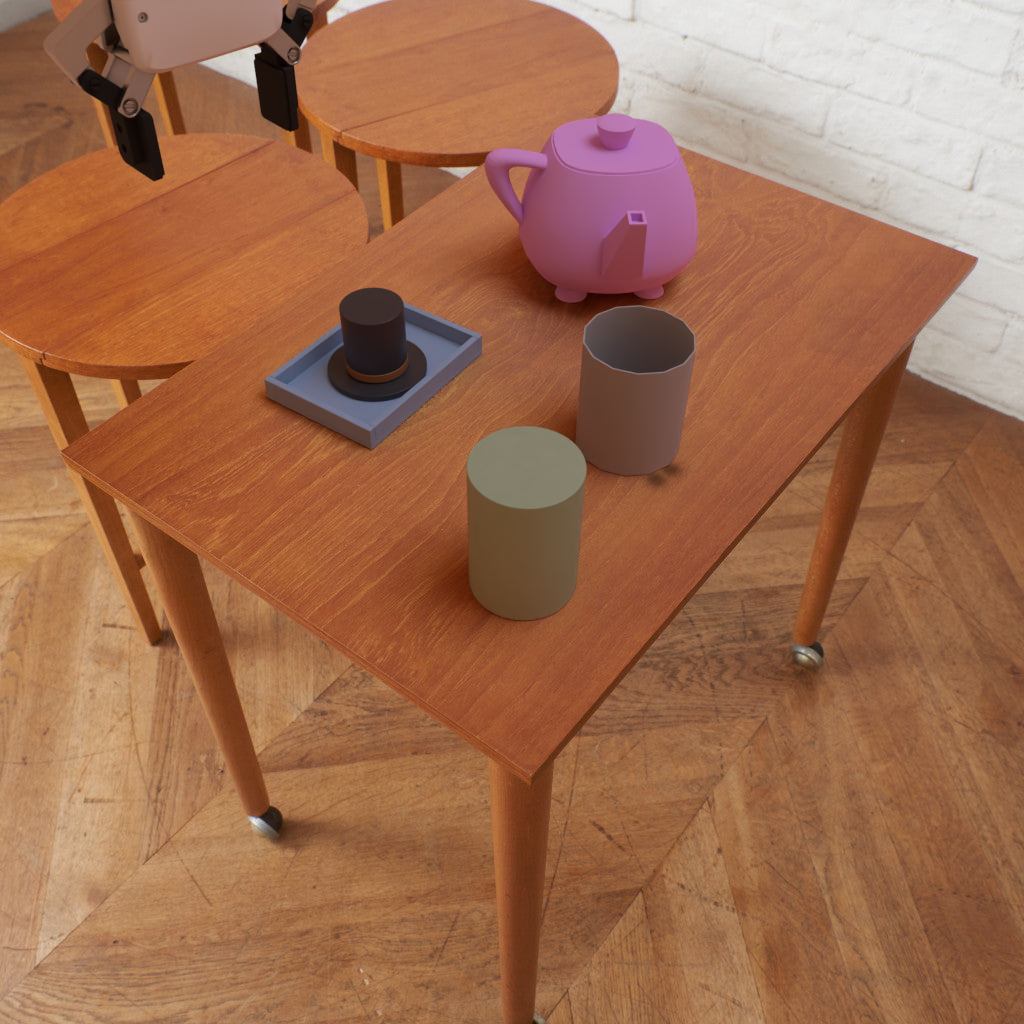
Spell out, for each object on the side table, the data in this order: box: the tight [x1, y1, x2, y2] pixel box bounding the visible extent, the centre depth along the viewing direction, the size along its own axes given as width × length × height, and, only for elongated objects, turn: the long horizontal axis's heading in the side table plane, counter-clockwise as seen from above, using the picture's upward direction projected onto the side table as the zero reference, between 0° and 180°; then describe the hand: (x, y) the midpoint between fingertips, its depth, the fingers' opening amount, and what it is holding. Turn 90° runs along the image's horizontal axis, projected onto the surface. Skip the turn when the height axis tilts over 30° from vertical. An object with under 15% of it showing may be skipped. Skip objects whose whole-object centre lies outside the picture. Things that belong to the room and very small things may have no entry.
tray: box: [263, 301, 483, 450], centre depth 89 cm, size 15×11×2 cm
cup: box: [574, 304, 697, 477], centre depth 81 cm, size 8×8×10 cm
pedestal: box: [465, 425, 588, 621], centre depth 70 cm, size 8×8×11 cm
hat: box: [327, 287, 427, 402], centre depth 87 cm, size 8×8×7 cm
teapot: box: [484, 113, 699, 304], centre depth 94 cm, size 20×20×15 cm
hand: (216, 147), depth 65 cm, fingers open, 9 cm apart
